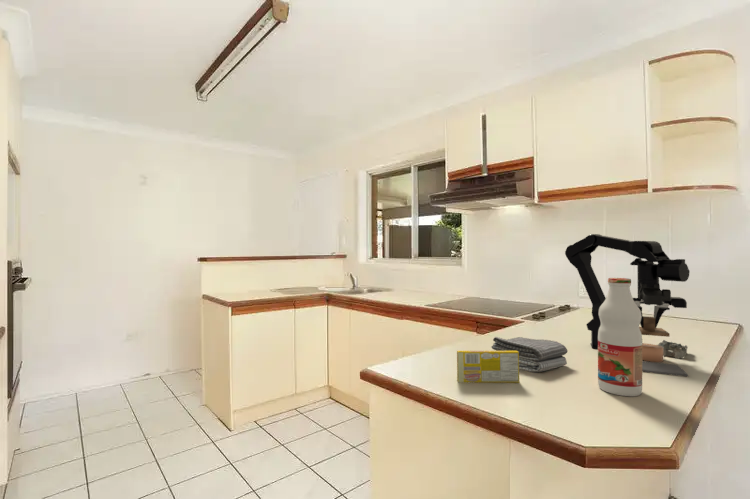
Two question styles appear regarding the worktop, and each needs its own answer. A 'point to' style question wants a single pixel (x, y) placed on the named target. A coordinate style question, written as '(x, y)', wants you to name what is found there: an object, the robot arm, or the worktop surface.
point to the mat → (662, 368)
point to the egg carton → (673, 349)
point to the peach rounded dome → (652, 353)
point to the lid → (652, 328)
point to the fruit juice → (620, 341)
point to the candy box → (488, 366)
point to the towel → (534, 352)
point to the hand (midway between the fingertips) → (648, 327)
